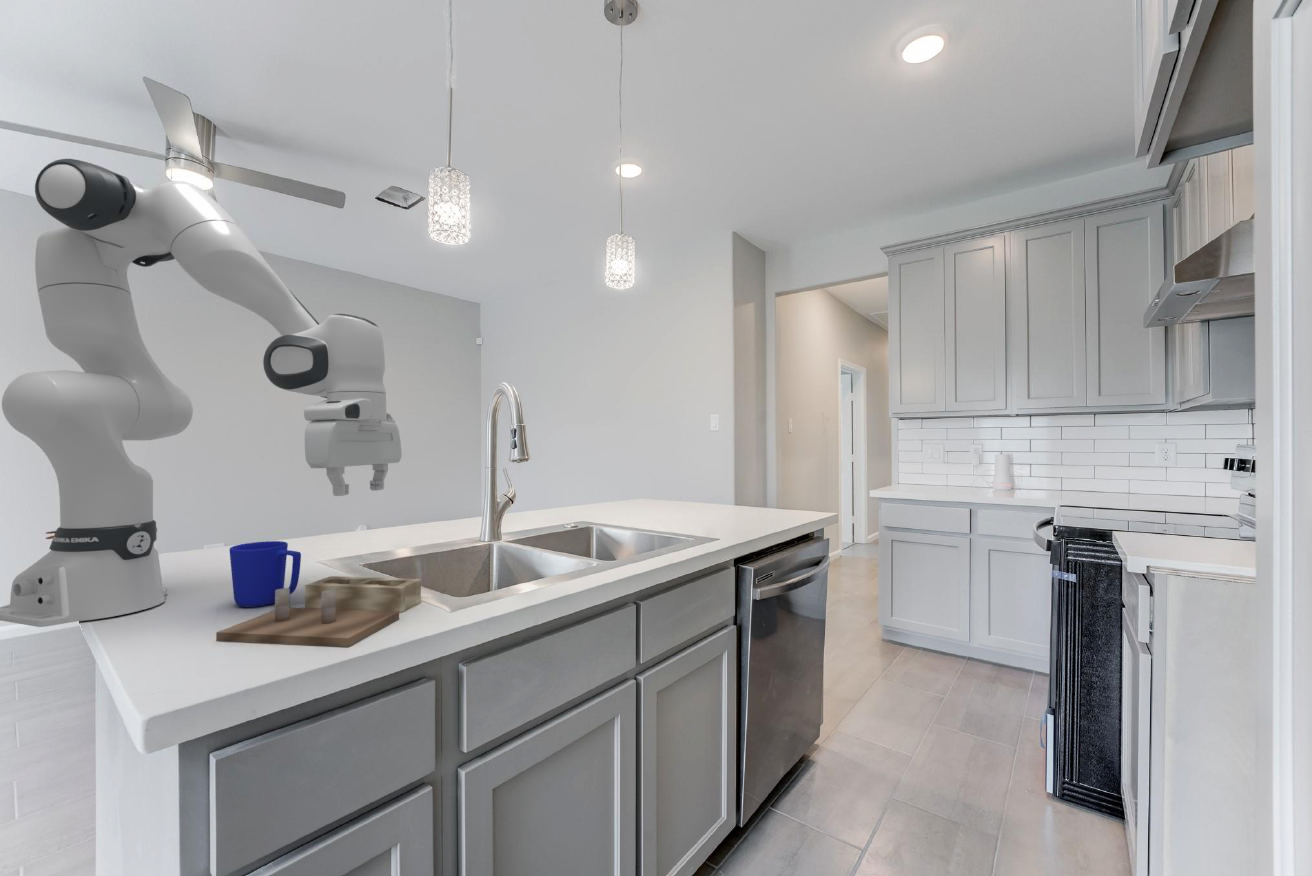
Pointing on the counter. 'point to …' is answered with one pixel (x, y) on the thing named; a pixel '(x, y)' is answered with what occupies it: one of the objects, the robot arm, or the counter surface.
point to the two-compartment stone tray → (366, 593)
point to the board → (309, 624)
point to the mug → (261, 571)
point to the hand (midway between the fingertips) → (360, 492)
